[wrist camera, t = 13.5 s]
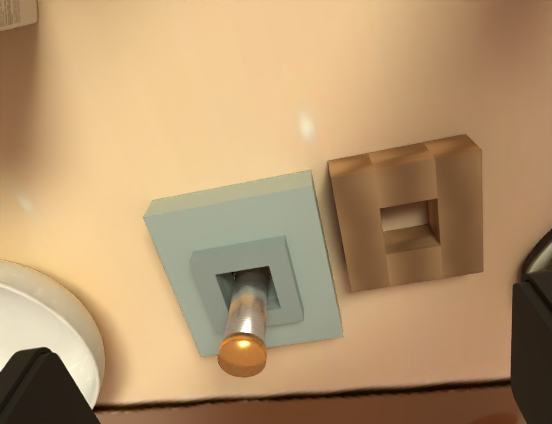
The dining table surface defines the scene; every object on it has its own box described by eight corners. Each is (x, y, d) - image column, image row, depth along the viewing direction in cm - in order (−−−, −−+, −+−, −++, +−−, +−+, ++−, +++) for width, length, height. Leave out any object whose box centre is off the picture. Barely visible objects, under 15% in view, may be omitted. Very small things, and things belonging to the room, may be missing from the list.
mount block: (465, 134, 36) (481, 150, 33) (469, 248, 41) (483, 271, 38) (327, 160, 37) (330, 178, 34) (347, 268, 43) (351, 292, 39)
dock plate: (310, 169, 38) (312, 193, 34) (340, 315, 45) (345, 349, 41) (153, 200, 40) (137, 226, 36) (206, 335, 47) (198, 369, 43)
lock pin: (267, 243, 42) (259, 339, 31) (276, 273, 43) (270, 373, 33) (232, 249, 42) (211, 346, 31) (241, 279, 44) (225, 380, 33)
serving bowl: (-128, 249, 44) (-196, 295, 37) (73, 211, 41) (35, 254, 35) (-17, 396, 53) (-56, 451, 47) (152, 373, 50) (133, 429, 44)
